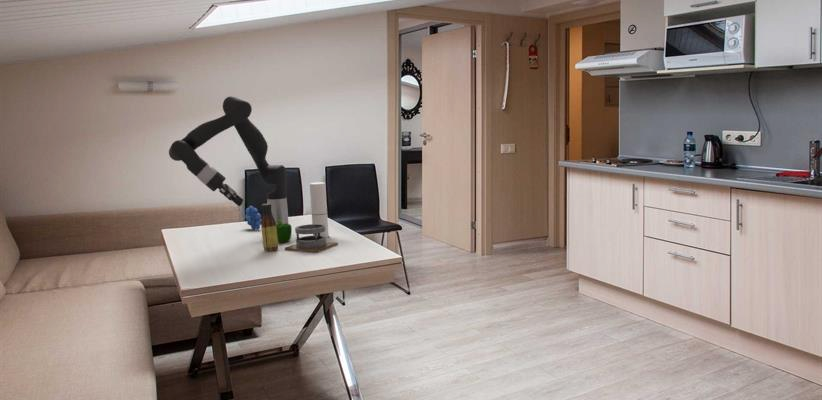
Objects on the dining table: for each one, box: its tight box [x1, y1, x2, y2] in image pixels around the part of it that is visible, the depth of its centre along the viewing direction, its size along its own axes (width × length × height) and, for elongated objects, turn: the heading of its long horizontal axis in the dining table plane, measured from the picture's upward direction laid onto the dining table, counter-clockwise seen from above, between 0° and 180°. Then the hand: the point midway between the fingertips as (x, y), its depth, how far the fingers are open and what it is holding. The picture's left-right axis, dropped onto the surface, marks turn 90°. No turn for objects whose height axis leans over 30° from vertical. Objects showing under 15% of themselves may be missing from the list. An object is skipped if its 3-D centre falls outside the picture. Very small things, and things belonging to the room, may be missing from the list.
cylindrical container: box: [309, 181, 330, 238], centre depth 294 cm, size 7×7×25 cm
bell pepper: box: [276, 220, 293, 243], centre depth 287 cm, size 8×8×10 cm
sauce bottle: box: [260, 203, 279, 252], centre depth 269 cm, size 7×6×20 cm
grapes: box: [244, 205, 262, 230], centre depth 320 cm, size 12×7×12 cm, turn 51°
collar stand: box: [284, 223, 339, 254], centre depth 271 cm, size 16×16×9 cm
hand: (241, 203), depth 265 cm, fingers open, 8 cm apart
